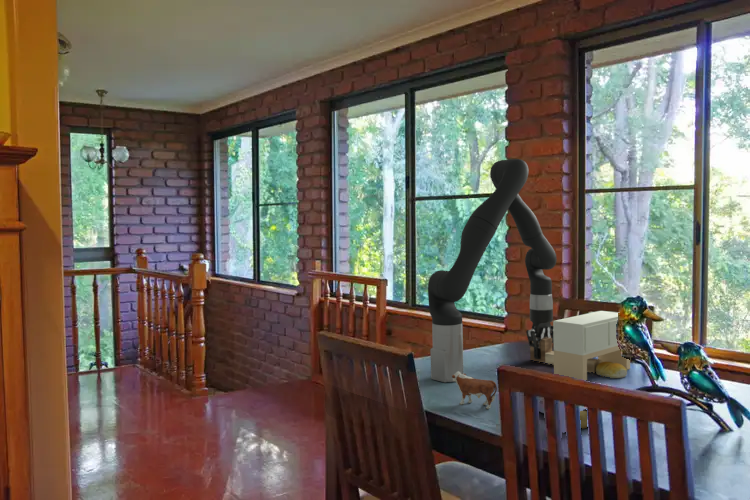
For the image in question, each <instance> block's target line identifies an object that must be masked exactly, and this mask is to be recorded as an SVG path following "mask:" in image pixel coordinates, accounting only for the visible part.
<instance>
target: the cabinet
mask: <svg viewBox="0 0 750 500" xmlns="http://www.w3.org/2000/svg"><path fill="white" fill-rule="evenodd" d="M618 313H619V312H617V311H606V310H597V311H593V312H590V313H589V312H588V313H584V314H579V315H575V316H570V317H565V318H562V319H561V318H560V319H557V320H553V321H552V323H553V325H552V326H553V339H554V342H553V352H554V365H553V375H554V374H559V375H564V376H569V377H574V378H577V379H583V380H587V381H588V372H587V359H590V358H593V359H595V358H596V357H597V359H599V360H601V363H602V362H612V363H619V364H621V365H622V366H624V367H625V368H626V370H627V371H628V370H630V369H631V359H630V360H629V359H626V358H624V357H622V356H621V353H620V349H619V347H618V344H617V339H616V324H617V320H618Z"/></svg>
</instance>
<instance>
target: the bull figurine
mask: <svg viewBox="0 0 750 500" xmlns="http://www.w3.org/2000/svg"><path fill="white" fill-rule="evenodd" d="M452 378H453V381H455V383H456V384H457V386H458V389H459V391H460V392H461V400H460V402H459V403H458V404H459V405H460V406H462V405H464V404H465V399H466V397H467V398H468V400H467V403H468V404H470V403H473V399H472V396H477V398H478V399H480V398H481V397H482V396H483V395H484V396H485V397H486V399H485V401H484V402H483V403H482V405H483V406H486V408H485V409H486V410H489V409H490V408H491V407H492V403H493V402H494V400H495V398H496V393H497V391H498V386H497V383H496V382H495V381H494V380H491V379H480V378H474V377H471V376H467V374H466V373H463V374H461V373H460V372H459V371H458V372H456V373H455V374H454V375H452Z"/></svg>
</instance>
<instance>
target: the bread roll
mask: <svg viewBox="0 0 750 500" xmlns="http://www.w3.org/2000/svg"><path fill="white" fill-rule="evenodd" d="M595 374H596V375H598V376H599V375H601V376H600V377H604V376H605V377H604V378H606V377H610V378H609V379H623V378H625V377H626V376H627V374H628V370H626V368H625V367H624V366H622V365H621V364H619V363H612V362H602V363H600V364H598V365H597V367H596V373H595Z"/></svg>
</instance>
